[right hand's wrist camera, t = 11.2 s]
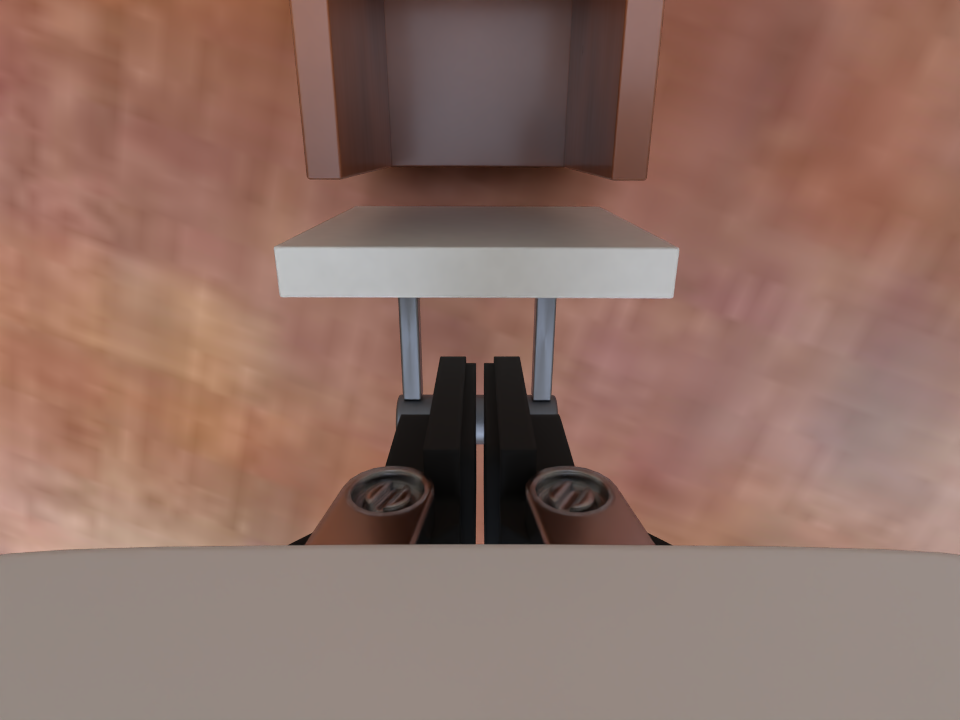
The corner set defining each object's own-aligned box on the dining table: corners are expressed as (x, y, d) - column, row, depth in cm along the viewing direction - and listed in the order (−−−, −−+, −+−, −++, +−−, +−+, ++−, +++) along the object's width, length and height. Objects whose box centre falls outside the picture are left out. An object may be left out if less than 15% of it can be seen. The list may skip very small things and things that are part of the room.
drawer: (587, 382, 24) (646, 513, 15) (368, 381, 24) (306, 512, 15) (646, -404, 16) (848, -1064, 7) (310, -406, 16) (106, -1069, 7)
